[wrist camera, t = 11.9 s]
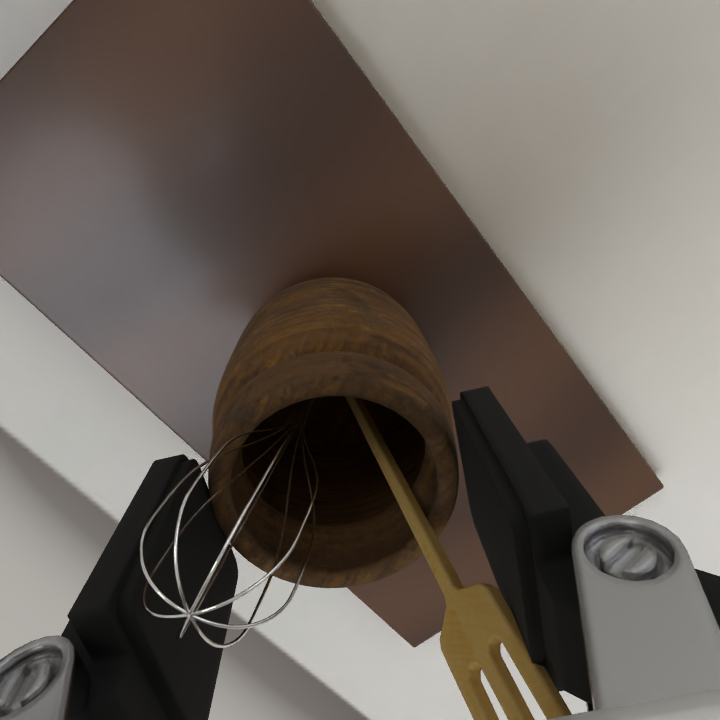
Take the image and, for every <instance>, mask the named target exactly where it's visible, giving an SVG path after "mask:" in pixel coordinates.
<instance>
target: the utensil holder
mask: <svg viewBox="0 0 720 720" xmlns="http://www.w3.org/2000/svg"><path fill="white" fill-rule="evenodd" d="M212 435H213V439H212V443H211V448H210V455H209V460H207V461H205V462H204V463H202V464H200V465H199V466H197V467H196V468H195V469H193V470H192V471H191V472H190V473H189V474H187V475H186V476H185V477H184V478H183V479H182V480H181V481H180V482H179V483H178V485H177V486H176V487H175V488H174V489H173V490H172V491H171V493H170V494H169V495H168V496H167V498H166V499H165V500H164V501H163V503H162V504H161V505H160V507H159V508H158V509H157V511H156V512H155V513H154V514H153V516H152V517H151V519H150V520H149V522H148V523H147V525H146V527H145V528H144V531H143V533H142V537H141V540H140V562H141V566H142V570H143V572H144V575H145V577H146V579H147V581H146V583H145V585H144V588H143V592H142V604H143V607H144V609H145V611H146V612H147V613H148V614H150V615H152V616H154V617H157V618H162V619H178V618H184V617H186V619H185V621H184V623H183V625H182V627H181V629H180V631H179V633H178V635H177V638H176V641H179V640H180V639H181V637H182V636H183V634H184V632H185V631H186V629H187V627H188V626H189V624H190V622H191V623H192V624H193V626H194V628H195V629H196V631H197V632H198V634H199V635H200V636H201V637H202V638H203V639H204V640H205V642H207V643H208V644H210V645H211V646H214V647H216V648H227V647H229V646H232V645H234V644H235V643H237V642H238V641H239V640H240V639H241V638H242V637H243V636H244V635H245V634H246V632H247V631H248V629H249V628H250V627H255V626H258V625H261V624H263V623H266V622H268V621H269V620H271V619H273V618H274V617H276V616H277V615H279V614H280V613H281V612H282V611H283V610H284V609H285V608H286V607H287V606H288V604H289V603H290V602H291V600H292V598H293V596H294V594H295V592H296V590H297V587H298V585H299V584H300V585H305V586H311V587H320V588H344V587H352V586H358V585H363V584H367V583H371V582H374V581H377V580H380V579H383V578H385V577H388V576H390V575H392V574H394V573H396V572H398V571H400V570H402V569H404V568H405V567H407V566H408V565H410V564H411V563H413V562H414V561H415V560H417V559H418V558H419V557H420V556H422V555H423V554H424V556H425V558H426V560H427V562H428V564H429V566H430V568H431V570H432V572H433V574H434V576H435V578H436V580H437V582H438V584H439V586H440V588H441V590H442V592H443V594H444V596H445V601H446V611H445V616H444V621H443V626H442V631H441V636H440V644H441V650H442V652H443V654H444V657H445V659H446V661H447V663H448V666H449V668H450V670H451V672H452V674H453V676H454V679H455V681H456V683H457V685H458V687H459V689H460V691H461V693H462V695H463V698H464V700H465V702H466V704H467V706H468V708H469V710H470V712H471V715H472V717H473V719H474V720H499V719H498V717H497V714H496V712H495V710H494V708H493V706H492V704H491V702H490V699H489V697H488V695H487V693H486V691H485V689H484V686H483V684H482V682H481V673H480V672H481V669H482V671H483V672H484V674H485V676H486V678H487V680H488V682H489V684H490V686H491V688H492V690H493V691H494V693H495V695H496V697H497V699H498V701H499V703H500V705H501V707H502V709H503V711H504V712H505V714H506V716H507V718H508V720H534V718H533V716H532V714H531V712H530V710H529V708H528V706H527V705H526V703H525V701H524V699H523V697H522V695H521V693H520V691H519V689H518V687H517V685H516V683H515V681H514V680H513V678H512V676H511V674H510V672H509V670H508V668H507V666H506V664H505V662H504V660H503V658H502V657H501V654H500V644H501V643H503V645H504V646H505V648H506V650H507V651H508V653H509V655H510V657H511V658H512V660H513V662H514V663H515V665H516V667H517V669H518V670H519V672H520V674H521V675H522V677H523V679H524V681H525V682H526V684H527V686H528V687H529V689H530V691H531V693H532V694H533V696H534V698H535V699H536V701H537V703H538V705H539V706H540V708H541V710H542V711H543V713H544V715H545V716H546V718H547V720H548V719H553V718H558V717H563V716H568V715H572V714H571V712H570V710H569V709H568V707H567V705H566V704H565V702H564V700H563V698H562V697H561V695H560V693H559V692H558V690H557V688H556V686H555V685H554V683H553V681H552V680H551V678H550V676H549V674H548V673H547V671H546V669H545V668H544V666H540V665H537V664H534V663H533V664H532V661H531V658H530V656H529V653H528V651H527V648H526V646H525V643H524V641H523V638H522V636H521V633H520V631H519V628H518V625H517V623H516V620H515V618H514V615H513V613H512V611H511V609H510V608H509V606H508V604H507V603H506V601H505V600H504V598H503V596H502V595H501V593H500V591H499V590H498V588H496V587H494V586H493V585H491V584H485V583H478V584H475V585H471V586H468V587H464V586H463V584H462V582H461V580H460V579H459V577H458V575H457V573H456V571H455V569H454V568H453V566H452V564H451V562H450V560H449V558H448V557H447V555H446V553H445V551H444V549H443V547H442V546H441V544H440V542H439V540H438V538H439V536H440V535H441V533H442V532H443V530H444V529H445V527H446V525H447V523H448V521H449V519H450V517H451V515H452V512H453V510H454V507H455V503H456V499H457V494H458V487H459V466H458V454H457V447H456V441H455V437H454V434H453V413H452V405H451V400H450V395H449V392H448V388H447V385H446V382H445V379H444V377H443V374H442V372H441V369H440V367H439V365H438V363H437V361H436V359H435V357H434V355H433V353H432V351H431V349H430V347H429V345H428V343H427V341H426V339H425V337H424V336H423V334H422V332H421V330H420V329H419V327H418V325H417V324H416V323H415V321H414V320H413V318H412V317H411V316H410V314H409V313H408V312H407V311H406V310H405V309H404V308H403V307H402V306H401V305H400V304H399V303H398V302H397V301H396V300H394V299H393V298H392V297H391V296H389V295H388V294H386V293H385V292H383V291H381V290H380V289H378V288H376V287H374V286H372V285H369V284H366V283H364V282H360V281H357V280H352V279H347V278H336V277H329V278H317V279H312V280H308V281H304V282H301V283H298V284H295V285H293V286H291V287H288V288H286V289H285V290H283V291H281V292H280V293H278V294H277V295H275V296H274V297H272V298H271V299H270V300H269V301H267V302H266V303H265V304H264V305H263V306H262V307H261V308H260V309H259V310H258V311H257V312H256V314H255V315H254V316H253V317H252V319H251V320H250V321H249V323H248V325H247V326H246V328H245V329H244V331H243V333H242V335H241V337H240V338H239V340H238V342H237V344H236V346H235V349H234V351H233V353H232V355H231V357H230V359H229V361H228V363H227V366H226V368H225V371H224V373H223V376H222V378H221V381H220V384H219V387H218V390H217V394H216V397H215V402H214V408H213V416H212ZM207 463H208V464H207ZM205 464H207V465H206V467H205V468H204V469H203V471H202V472H201V473H200V475H199V476H198V477H197V479H196V480H195V481H194V483H193V484H192V486H191V488H190V489H189V491H188V492H187V494H186V496H185V498H184V500H183V503H182V505H181V508H180V512H179V515H178V519H177V524H176V530H175V538H174V540H173V541H172V543H171V544H170V546H169V547H168V548H167V550H166V551H165V553H164V554H163V556H162V557H161V558H160V560H159V561H158V563H157V564H156V566H155V567H154V569H153V570H152V572H151V574H150V576H149V574H148V572H147V569H146V566H145V562H144V556H143V545H144V539H145V535H146V532H147V530H148V528H149V526H150V525H151V523H152V522H153V520H154V518H155V517H156V516H157V514H158V513H159V512H160V510H161V509H162V508H163V506H164V505H165V504H166V503H167V501H168V500H169V499H170V497H171V496H172V495H173V494H174V492H175V491H176V490H177V489H178V488H179V487H180V485H181V484H182V483H183V482H184V481H185V480H186V479H187V478H188V477H189V476H190V475H191V474H193V473H194V472H195V471H196V470H198V469H199V468H200V467H202V466H204V465H205ZM208 468H209V471H208V487H209V496H210V499H209V500H208V501H207V502H206V503H205V504H203V505H202V506H201V507H200V508H199V510H198V511H197V512H196V513H195V514H194V515H193V516H192V517H191V518H190V519H189V521H188V522H187V523H186V524H185V525H184V527H183V528H182V529H181V531H180V532H179V528H180V523H181V518H182V514H183V510H184V507H185V505H186V502H187V500H188V497H189V495H190V494H191V492H192V491H193V489H194V487H195V486H196V484H197V483H198V481H199V480H200V479H201V477H202V476H203V475H204V473H205V472H206V470H207V469H208ZM209 502H211V506H212V509H213V512H214V515H215V517H216V520H217V522H218V524H219V526H220V528H221V530H222V532H223V533H224V535H225V537H226V538H227V541H226V543H225V545H224V546H223V548H222V550H221V552H220V554H219V556H218V557H217V559H216V561H215V563H214V565H213V567H212V569H211V571H210V572H209V574H208V576H207V578H206V580H205V582H204V584H203V586H202V588H201V590H200V591H199V593H198V595H197V597H196V599H195V601H194V603H193V605H192V607H191V609H189V607H188V604H187V602H186V599H185V596H184V593H183V589H182V585H181V580H180V575H179V568H178V538H179V536H180V535H181V534H182V532H183V531H184V530H185V528H186V527H187V526H188V525H189V524H190V522H191V521H192V520H193V519H194V518H195V517H196V515H197V514H198V513H199V512H200V511H201V510H202V509H203V508H204V507H205V506H206V505H207V504H208V503H209ZM229 543H231V545H230V547H229V549H228V550H227V552H226V554H225V556H224V558H223V559H222V561H221V563H220V565H219V566H218V568H217V570H216V572H215V574H214V575H213V573H214V571H215V569H216V567H217V565H218V563H219V562H220V560H221V558H222V556H223V554H224V552H225V550H226V548H227V547H228V545H229ZM173 545H174V568H175V575H176V581H177V585H178V590H179V593H180V596H181V600H182V603H183V605H184V608H185V609H183V608H181V607H180V606H178V605H176V604H175V603H174V602H172V601H171V600H170V599H168V598H167V597H166V596H165V595H164V594H163V593H162V592H161V591H160V590H159V589H158V588H157V587H156V585H155V584H154V583H153V581H152V579H151V578H152V576H153V575H154V573H155V571H156V570H157V568H158V567H159V565H160V564H161V562H162V561H163V559H164V558H165V556H166V555H167V553H168V552H169V551H170V549H171V548H172V546H173ZM232 547H234V548H235V549H236V550H237V551H238V552H239V553H240V554H241V555H242V556H243V557H245V558H246V559H247V560H248V561H249V562H251V563H252V564H254V565H255V566H256V567H258V568H260V569H261V570H263V571H265V572H267V574H266V575H265V576H264V577H263V578H262V579H260V580H259V581H258V582H256V583H255V584H254V585H252V586H251V587H249V588H248V589H246V590H245V591H243V592H241V593H240V594H238V595H236V596H234V597H232V598H230V599H228V600H226V601H224V602H222V603H219V604H217V605H215V606H212V607H209V608H206V609H202V610H198V608H199V606H200V604H201V602H202V601H203V599H204V597H205V595H206V593H207V592H208V590H209V588H210V586H211V585H212V583H213V581H214V579H215V577H216V576H217V574H218V572H219V570H220V568H221V567H222V565H223V563H224V561H225V559H226V558H227V556H228V554H229V552H230V550H231V548H232ZM212 575H213V577H212ZM272 576H275V577H278V578H280V579H283V580H286V581H288V582H292V583H296V584H295V586H294V589H293V591H292V593H291V595H290V597H289V599H288V600H287V602H286V603H285V604H284V605H283V606H282V607H281V608H280V609H279V610H278V611H277V612H275V613H274V614H273V615H271V616H269V617H268V618H266V619H263V620H261V621H258V622H255V623H252V621H253V619H254V617H255V615H256V613H257V611H258V608H259V606H260V604H261V602H262V600H263V597H264V595H265V593H266V590H267V588H268V586H269V583H270V581H271V578H272ZM211 577H212V579H211V581H210V582H209V580H210V578H211ZM268 577H269V578H268ZM267 578H268V581H267V583H266V586H265V588H264V590H263V593H262V595H261V597H260V599H259V601H258V604H257V606H256V608H255V610H254V612H253V614H252V617H251V619H250V620H249V622H248V624H245V625H227V624H222V623H216V622H213V621H210V620H206V619H204V618H201V617H199V616H197V615H198V614H203V613H206V612H209V611H212V610H215V609H217V608H220V607H222V606H225V605H227V604H229V603H231V602H233V601H235V600H237V599H239V598H240V597H242V596H244V595H245V594H247V593H248V592H250V591H251V590H253V589H254V588H256V587H257V586H258V585H260V584H261V583H262V582H264V581H265V580H266V579H267ZM208 582H209V584H208ZM148 584H150V586H151V587H152V588H153V589H154V591H155V592H156V593H157V594H158V595H159V596H160V597H161V598H162V599H163V600H164V601H165V602H167V603H168V604H169V605H171V606H172V607H173V608H175V609H176V610H178V611H180V612H182V613H183V614H178V615H162V614H158V613H154V612H153V611H151V610H150V609H149V608H148V606H147V604H146V601H145V594H146V589H147V586H148ZM207 584H208V586H207ZM206 586H207V588H206ZM205 588H206V589H205ZM204 590H205V591H204ZM203 592H204V593H203ZM202 594H203V595H202ZM199 599H200V600H199ZM198 601H199V602H198ZM197 603H198V604H197ZM197 610H198V611H197ZM195 620H198V621H200V622H202V623H205V624H209V625H212V626H215V627H221V628H226V629H243V628H245V629H244V631H243V632H242V634H241V635H240V636H239V637H238V638H236V639H235V640H234V641H232V642H230V643H227V644H217V643H215V642H213V641H211V640H210V639H208V638H207V637H206V636H205V635H204V634H203V632H202V631H201V629H200V628H199V627H198V625H197V623H196V621H195Z"/></svg>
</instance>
